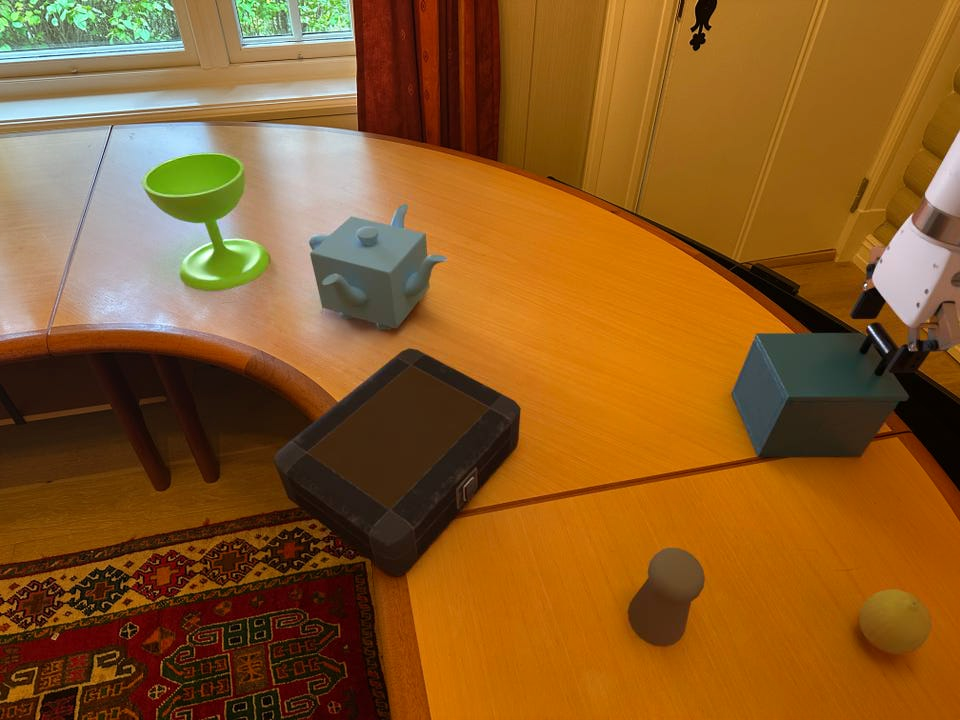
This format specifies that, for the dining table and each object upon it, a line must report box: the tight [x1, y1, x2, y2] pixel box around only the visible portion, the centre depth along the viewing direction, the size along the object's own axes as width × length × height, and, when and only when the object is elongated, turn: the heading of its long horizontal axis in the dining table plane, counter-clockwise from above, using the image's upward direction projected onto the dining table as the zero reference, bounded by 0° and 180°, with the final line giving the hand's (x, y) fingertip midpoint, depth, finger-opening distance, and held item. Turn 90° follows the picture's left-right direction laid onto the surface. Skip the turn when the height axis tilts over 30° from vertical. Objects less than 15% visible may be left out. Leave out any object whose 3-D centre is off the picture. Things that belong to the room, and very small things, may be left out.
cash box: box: [273, 347, 522, 577], centre depth 76 cm, size 25×20×8 cm
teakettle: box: [308, 203, 448, 330], centre depth 98 cm, size 19×19×15 cm
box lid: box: [753, 321, 910, 402], centre depth 75 cm, size 14×12×5 cm
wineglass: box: [141, 152, 271, 292], centre depth 106 cm, size 16×16×18 cm
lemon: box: [858, 588, 932, 655], centre depth 60 cm, size 6×6×8 cm
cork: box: [627, 547, 706, 647], centre depth 61 cm, size 6×6×11 cm
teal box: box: [730, 338, 900, 458], centre depth 80 cm, size 14×12×11 cm
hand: (880, 343), depth 74 cm, fingers open, 9 cm apart
